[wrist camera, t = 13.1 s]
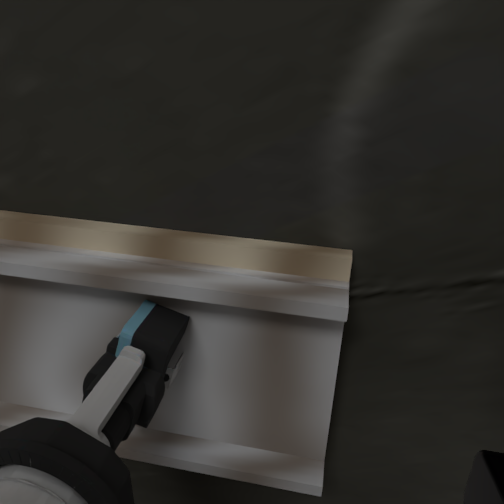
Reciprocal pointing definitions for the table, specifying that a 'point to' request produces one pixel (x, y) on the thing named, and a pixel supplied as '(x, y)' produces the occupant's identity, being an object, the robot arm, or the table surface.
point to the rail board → (192, 343)
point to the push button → (95, 420)
